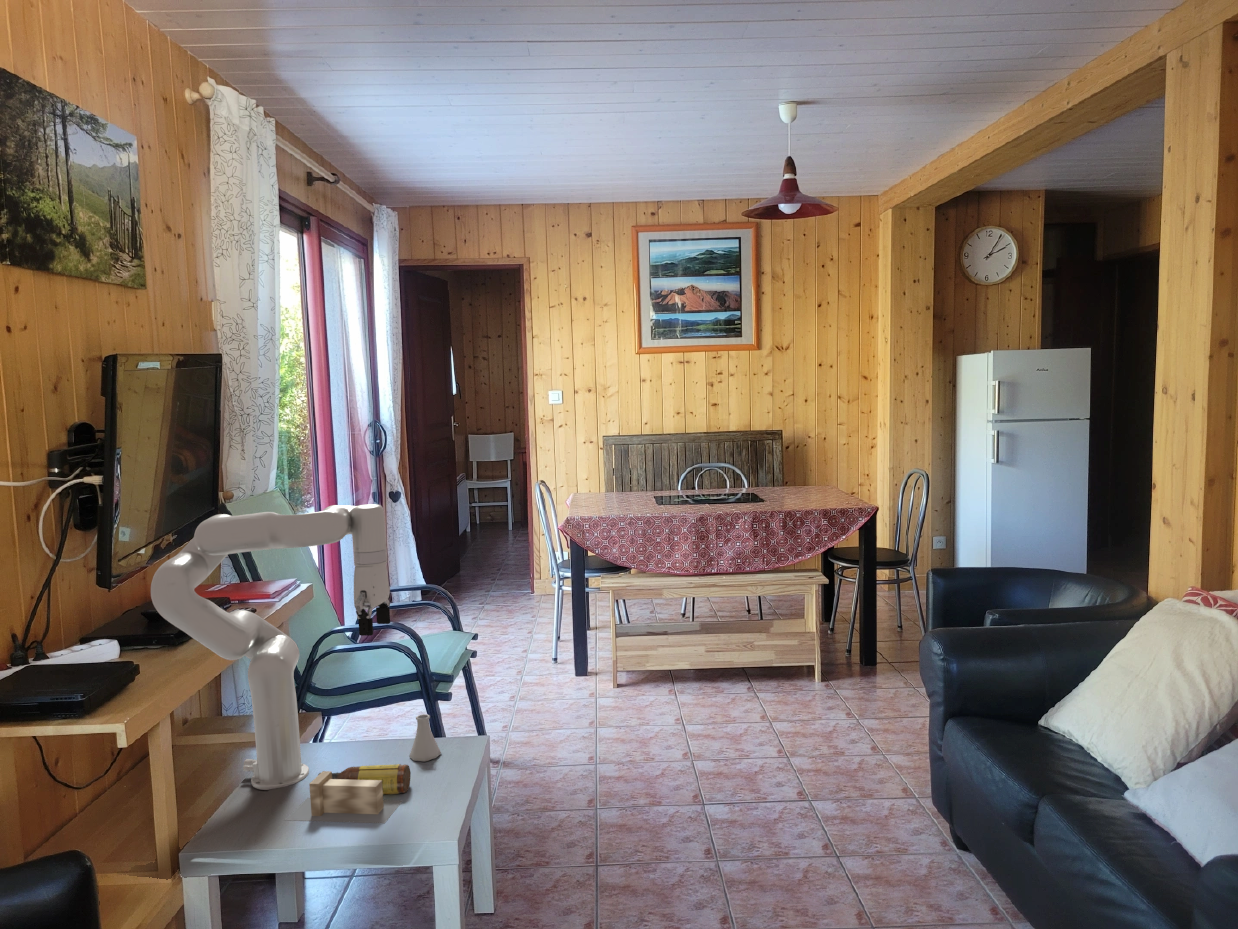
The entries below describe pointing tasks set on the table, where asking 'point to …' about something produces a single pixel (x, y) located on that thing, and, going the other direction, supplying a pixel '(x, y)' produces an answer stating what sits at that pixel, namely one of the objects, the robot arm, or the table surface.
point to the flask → (424, 741)
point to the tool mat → (344, 814)
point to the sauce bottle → (380, 776)
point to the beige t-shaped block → (345, 795)
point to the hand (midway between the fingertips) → (375, 629)
